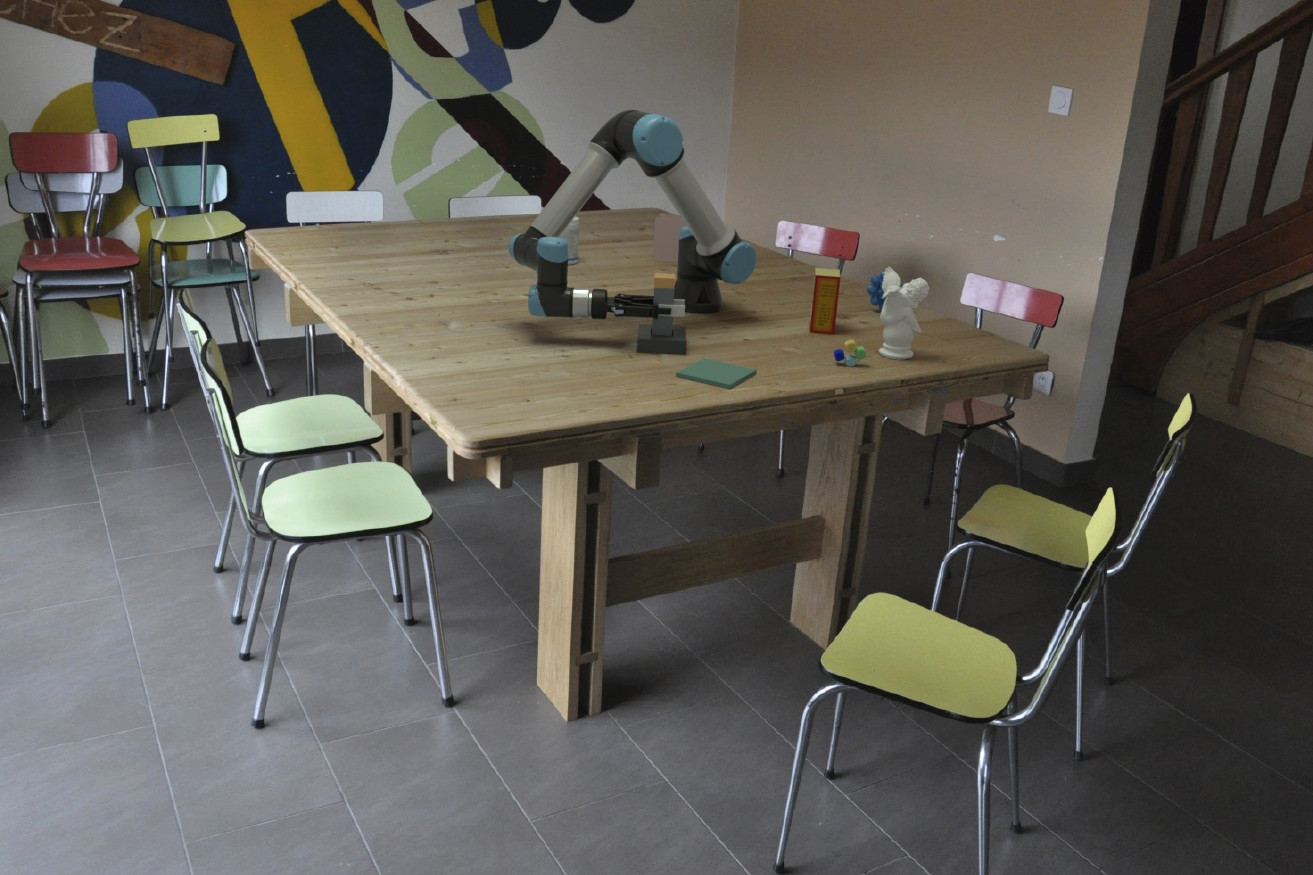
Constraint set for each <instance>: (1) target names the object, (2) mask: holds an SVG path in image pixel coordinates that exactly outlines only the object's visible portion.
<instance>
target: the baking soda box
mask: <svg viewBox="0 0 1313 875" xmlns="http://www.w3.org/2000/svg"><path fill="white" fill-rule="evenodd" d="M840 271H841V270H840V268H839V269H838V268H825V267H815V268H814V276H813V284H812V285H813V286H812V296H811V305H810V313H809V314H810V315H809V322H808V323H809V325H808V326H809V333H811V334H823V335H835V331H836V330H835V328H836V321H837V311H838V302H839V296H840V286H841V285H840V284H841V272H840Z"/></svg>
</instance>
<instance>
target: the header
mask: <svg viewBox="0 0 1313 875" xmlns="http://www.w3.org/2000/svg"><path fill="white" fill-rule="evenodd" d="M686 329H687V328H686V326H684V325H683V326H681V325H680V326H679V325H673V326H672V336H660V335H652V324H640V323H638V328H637V339H636V340H637V341H636V342H637V343H636V352H637V353H645V354H647V353H648V354H662V355H666V354H667V355H686V352H687V350H686V349H687V330H686Z"/></svg>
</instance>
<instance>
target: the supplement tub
mask: <svg viewBox="0 0 1313 875" xmlns="http://www.w3.org/2000/svg"><path fill="white" fill-rule="evenodd" d="M579 237H580V218H579V217H578V216H577V215H576V216H575V217H574V218H573V220H572V221H571V222H570V224H569V225H568V226H567V227H566V229H565V230H564V231H563V233H562V234H561V235H560V237H559V238H563V239H565V240H566V241H567V243H568V254H569V257H568V266H572V265H575V264H577V263H578V260H579V259H578V258H579V239H580V238H579Z"/></svg>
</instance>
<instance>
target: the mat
mask: <svg viewBox="0 0 1313 875" xmlns="http://www.w3.org/2000/svg"><path fill="white" fill-rule="evenodd" d="M756 374H757V369H755V368H751V367H746V366H741V365H737V364H732V363H728V362H725V361H724V362H723V361H719V360H715V359H709V358H705V357H704V358H702V359H700V360H699V361H696V362H694V363H692V364H690V365H688V366H686V367H683V368H682V369H680V370H678V371H676V372H675V377H676V378H680V379H684V380H689V381H694V382H696V383H697V382H698V383H702V384H706V385H711V386H714V387H715V386H716V387H719V388H723V389H724V388H725V389H728V390H731V389H732V388H734V387H735V386H737V385H739V384H741V383H743V382H744V381H746V380H748V379H750V378H752V377H753V376H755V375H756Z"/></svg>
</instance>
